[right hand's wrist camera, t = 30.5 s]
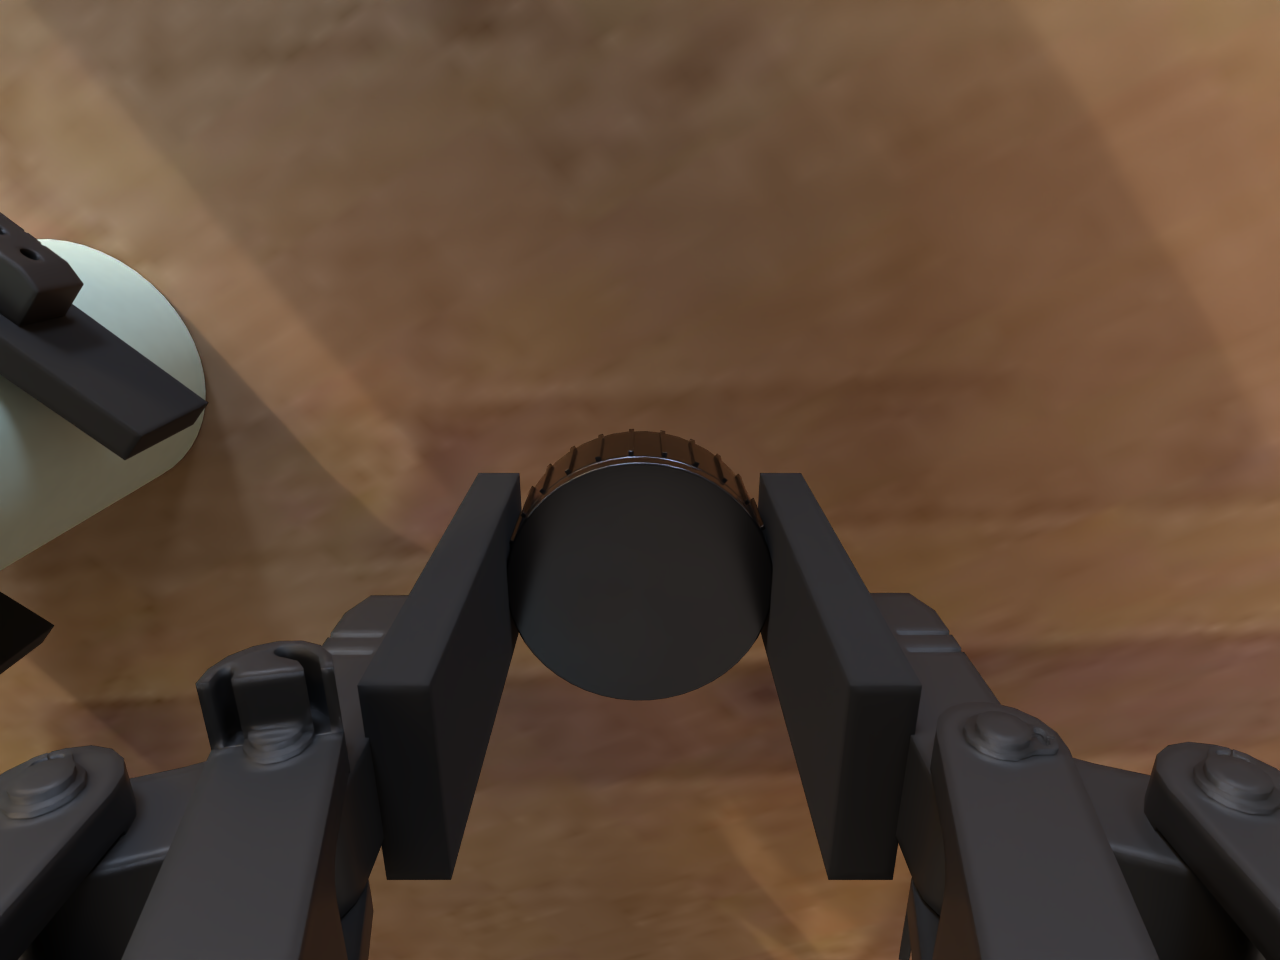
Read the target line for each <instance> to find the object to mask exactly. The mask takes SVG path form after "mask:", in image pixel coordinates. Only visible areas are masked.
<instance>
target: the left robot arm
mask: <svg viewBox="0 0 1280 960" xmlns="http://www.w3.org/2000/svg"><path fill="white" fill-rule="evenodd" d="M83 285H84V284H83V282H82V281H81V280H80V278H79V277H78V276H77V274H76V273H75V271H74V270H73V269H72V267H71V266H70V265H69V263H68V262H67V261H65V260H64V259H63V258H61V257H60V256H59V255H57V254H56V253H55V252H53V251H52V250H50V249H49V248H48V247H46V246H44V245H42V244H41V242H40V241H38V240H37V239H36V238H34V237H33V236H32V235H30V234H29V233H26V232H24V230H23V229H22V228H21V227H19V226H18V225H17V224H15V223H14V222H13V221H11V220H10V219H9V218H7V217H6V216H5V215H3V214H2V213H0V375H1V376H3V377H4V378H6V379H7V380H9V381H10V382H12V383H13V384H14V385H16V386H17V387H19V388H20V389H22V390H23V391H25V392H26V393H27V394H29V395H30V396H32V397H33V398H35V399H36V400H38V401H39V402H41V403H42V404H43V405H45V406H46V407H48V408H49V409H51V410H52V411H54V412H55V413H57V414H58V415H59V416H61V417H62V418H64V419H65V420H67V421H68V422H70V423H71V424H73V425H74V426H75V427H77V428H78V429H80V430H81V431H83V432H84V433H86V434H87V435H88V436H90V437H91V438H93V439H94V440H96V441H97V442H99V443H100V444H102V445H103V446H104V447H106V448H107V449H109V450H110V451H112V452H113V453H115V454H116V455H118V456H119V457H120V458H122V459H123V460H127V459H129V458H131V457H133V456H135V455H136V454H138V453H140V452H142V451H144V450H146V449H148V448H150V447H152V446H154V445H155V444H157V443H159V442H161V441H163V440H165V439H167V438H169V437H171V436H173V435H175V434H176V433H178V432H180V431H182V430H184V429H186V428H188V427H190V426H192V425H193V424H194V423H195V422H196V420H197V419H198V417H199V416H200V414H201V413H202V411H203V410H204V409H205V407H206V406H207V404H208V402H207V401H205V400H204V399H203V398H201V397H200V396H198V395H197V394H196V393H194V392H193V391H192V390H190V389H189V388H187V387H186V386H185V385H183V384H182V383H181V382H179V381H178V380H176V379H175V378H174V377H172V376H171V375H170V374H168V373H167V372H165V371H164V370H163V369H161V368H160V367H159V366H157V365H156V364H154V363H153V362H152V361H150V360H149V359H148V358H146V357H145V356H143V355H142V354H141V353H139V352H138V351H137V350H135V349H134V348H132V347H131V346H130V345H128V344H127V343H126V342H124V341H123V340H121V339H120V338H119V337H117V336H116V335H115V334H113V333H112V332H110V331H109V330H108V329H106V328H105V327H104V326H102V325H101V324H99V323H98V322H97V321H95V320H94V319H93V318H91V317H90V316H88V315H87V314H86V313H84V312H83V311H82V310H80V309H79V308H77V307H76V306H75V305H73V304H72V303H73V301H74V300H75V298H76V296H77V295H78V293H79V291H80V290H81V288H82V286H83ZM53 626H54V625H53V624H51V623H50V622H48V621H47V620H45V619H43V618H42V617H40V616H39V615H37V614H35V613H34V612H32V611H30V610H29V609H27V608H26V607H24V606H22V605H21V604H19V603H18V602H16V601H14V600H13V599H11V598H10V597H8V596H6V595H5V594H3V593H1V592H0V674H1V673H3V672H4V671H5V670H7V669H8V668H9V667H11V666H12V665H13V664H15V663H16V662H17V661H19V660H20V659H21V658H23V657H24V656H25V655H27V654H28V653H29V652H31V651H32V650H33V649H35V648H36V647H37V646H38V645H40V644H41V643H42V642H43V641H44V639H45V638H46V637H47V635H48V634H49V632H50V631H51V629H52V628H53Z"/></svg>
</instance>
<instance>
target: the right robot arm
mask: <svg viewBox="0 0 1280 960" xmlns="http://www.w3.org/2000/svg"><path fill="white" fill-rule="evenodd" d="M758 510H759V513H760V516H761V518H762V521H763V524H764V526H765V530H762V531H763V534H764V537H765V540H766V542H767V545H768V548H769V552H770V556H771V560H772V565H773V574H772V590H771V604H770V610H769V613H768V616H767V619H766V622H765V624H764V626H763V628H762V630H761V635H762V639H763V642H764V646H765V650H766V653H767V657H768V661H769V664H770V668H771V671H772V675H773V679H774V682H775V686H776V690H777V693H778V697H779V701H780V704H781V708H782V712H783V715H784V719H785V723H786V726H787V730H788V734H789V737H790V741H791V745H792V748H793V752H794V755H795V759H796V763H797V766H798V770H799V774H800V777H801V781H802V785H803V788H804V792H805V796H806V799H807V803H808V807H809V810H810V814H811V818H812V821H813V825H814V829H815V832H816V836H817V839H818V843H819V847H820V850H821V854H822V858H823V861H824V865H825V869H826V872H827V876H828V880H893V874H894V867H895V861H896V854H897V848H898V843H899V845H900V848H901V850H902V853H903V855H904V858H905V860H906V863H907V865H908V868H909V871H910V873H911V876H912V879H911V886H910V892H909V898H908V904H907V910H906V916H905V922H904V928H903V934H902V940H901V947H900V954H899V960H909V958H910V953H911V954H912V960H1280V771H1279V770H1277V769H1276V768H1274V767H1272V766H1270V765H1268V764H1266V763H1264V762H1261V761H1259V760H1257V759H1255V758H1253V757H1251V756H1250V755H1248V754H1245V753H1242V752H1239V751H1237V750H1234V749H1233V750H1231V749H1229V748H1226V747H1222V746H1217V745H1212V744H1202V743H1193V742H1186V743H1180V744H1174V745H1168V746H1167V747H1166V748H1164V749H1163V750H1162V751H1161V752H1160V753H1158V754H1157V756H1156V759H1155V763H1154V766H1153V770H1152V773H1151V776H1150V775H1146V774H1141V773H1136V772H1132V771H1127V770H1122V769H1117V768H1113V767H1108V766H1103V765H1098V764H1094V763H1090V762H1086V761H1083V760H1079V759H1076V758H1072V755H1071V753H1070V751H1069V749H1068V747H1067V746H1066V745H1065V743H1064V742H1063V740H1062V739H1061V738H1060V736H1059V735H1058V733H1057V732H1055V731H1054V730H1052V729H1051V728H1050V727H1048V726H1047V725H1046V724H1044V723H1043V722H1042V721H1040V720H1039V719H1037V718H1035V717H1033V716H1031V715H1029V714H1026V713H1024V712H1022V711H1020V710H1017V709H1015V708H1012V707H1007V706H1003V705H1001V704H1000V702H999V701H998V700H997V698H996V697H995V695H994V694H993V693H992V691H991V690H990V688H989V687H988V685H987V684H986V683H985V681H984V680H983V678H982V677H981V676H980V674H979V673H978V671H977V670H976V668H975V667H974V666H973V664H972V663H971V661H970V660H969V658H968V657H967V656H966V654H965V653H964V652H961V647H960V646H959V644H958V643H957V641H956V640H955V639H954V637H953V636H952V635H949V630H948V629H947V627H946V626H945V624H944V623H943V622H942V620H941V619H940V617H939V616H938V614H937V613H936V612H935V610H933V609H932V608H930V607H929V606H927V605H926V604H924V603H923V602H921V601H920V600H918V599H917V598H915V597H914V596H912V595H911V594H909V593H869V591H868V590H867V588H866V586H865V584H864V583H863V581H862V579H861V577H860V576H859V574H858V572H857V570H856V569H855V567H854V565H853V563H852V562H851V560H850V558H849V556H848V555H847V553H846V551H845V549H844V548H843V546H842V544H841V542H840V541H839V539H838V537H837V535H836V534H835V532H834V530H833V528H832V527H831V525H830V523H829V521H828V520H827V518H826V516H825V514H824V513H823V511H822V509H821V507H820V506H819V504H818V502H817V500H816V499H815V497H814V495H813V493H812V492H811V490H810V488H809V486H808V485H807V483H806V481H805V479H804V478H803V476H802V474H801V473H760V484H759V501H758ZM520 512H522V510H521V493H520V476H519V473H478V475H477V477H476V479H475V480H474V482H473V484H472V486H471V487H470V489H469V491H468V493H467V494H466V496H465V498H464V500H463V501H462V503H461V505H460V507H459V508H458V510H457V512H456V513H455V515H454V517H453V519H452V520H451V522H450V524H449V526H448V527H447V529H446V531H445V533H444V534H443V536H442V538H441V540H440V541H439V543H438V545H437V547H436V548H435V550H434V552H433V554H432V555H431V557H430V559H429V561H428V562H427V564H426V566H425V568H424V569H423V571H422V573H421V575H420V576H419V578H418V580H417V582H416V583H415V585H414V587H413V589H412V590H411V592H410V594H409V595H371V596H370V597H368V598H367V599H365V600H364V601H362V602H361V603H359V604H358V605H356V606H355V607H353V608H352V609H350V610H349V611H347V612H346V613H345V614H344V615H343V617H342V618H341V620H340V621H339V622H338V624H337V625H336V627H335V628H334V630H333V631H332V632H331V637H330V638H327V640H326V641H325V642H324V644H323V645H322V646H321V645H317V644H313V643H309V642H305V641H277V642H272V643H267V644H262V645H257V646H253V647H250V648H248V649H245V650H242V651H240V652H237V653H235V654H232V655H230V656H228V657H226V658H224V659H223V660H221V661H220V662H218V663H217V664H215V665H214V666H212V667H210V668H209V669H208V670H207V671H206V672H205V673H204V674H203V676H202V677H201V678H200V679H199V680H198V681H197V683H196V688H197V692H198V696H199V700H200V705H201V709H202V713H203V717H204V721H205V725H206V730H207V734H208V738H209V742H210V746H211V752H210V754H209V757H208V759H207V761H205V762H202V763H198V764H194V765H191V766H187V767H183V768H178V769H173V770H169V771H164V772H159V773H155V774H150V775H145V776H141V777H136V778H131V779H129V775H128V772H127V769H126V765H125V762H124V758H122V757H121V756H120V755H119V754H118V753H117V752H115V751H114V750H113V749H110V748H104V747H98V746H92V745H91V746H82V747H73V748H65V749H61V750H57V751H52V752H51V753H46V754H43V755H40V756H37V757H34V758H32V759H30V760H29V761H26V762H24V763H22V764H20V765H18V766H16V767H14V768H12V769H10V770H8V771H6V772H4V773H3V774H1V775H0V960H368V956H369V946H370V937H371V928H372V919H373V905H372V898H371V892H370V886H369V880H368V878H369V876H370V873H371V871H372V868H373V866H374V863H375V860H376V858H377V855H378V853H379V850H380V848H381V845H382V851H383V858H384V864H385V871H386V877H387V880H451V878H452V874H453V870H454V867H455V863H456V859H457V856H458V852H459V849H460V845H461V841H462V838H463V834H464V830H465V827H466V823H467V819H468V816H469V812H470V808H471V805H472V801H473V797H474V794H475V790H476V786H477V783H478V779H479V776H480V772H481V768H482V765H483V761H484V757H485V754H486V750H487V746H488V743H489V739H490V735H491V732H492V728H493V724H494V721H495V717H496V713H497V710H498V706H499V703H500V699H501V695H502V692H503V688H504V684H505V681H506V677H507V673H508V670H509V666H510V662H511V659H512V655H513V651H514V648H515V644H516V640H517V637H518V633H519V632H518V630H517V628H516V626H515V623H514V621H513V618H512V616H511V613H510V608H509V598H508V583H507V562H508V557H509V552H510V549H511V546H512V544H509V542H510V539H511V536H512V533H513V531H514V528H515V525H516V523H517V520H518V517H519V515H520Z"/></svg>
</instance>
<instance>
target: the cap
mask: <svg viewBox="0 0 1280 960" xmlns="http://www.w3.org/2000/svg"><path fill="white" fill-rule="evenodd" d="M762 530H765V526H764V524H763V521H762V518H761V516H760V513H759V510H758V507H757V505H756V502H755V500H754V498H752V499H750V497H749V495H748V493H747V491H746V489H745V487H744V484H743V481H742V478H741V476H740V475H739V474H738V475H735V474H734V473H733V471H732V470H731V469H730V468H729V467H728V466H727V465H726V464H725V463H724V462H722V460H721V456H720V455H718V454H716V455H713V454H712V453H711V452H709V451H708V450H706V449H704V448H702V447H701V446H699V445H697V444H695V440H692V439H690V441H688V440H685V439H682V438H680V437H677V436H672V435H668V434H665V431H660V433H657V432H648V431H634V429H629V432H622V433H615V434H611V435H607V436H604V435H603V434H601V435H599V436H598V438H596V439H594V440H592V441H589V442H587V443H584V444H582V445H580V446H579V447H577V448H576V447H575V446H573V447H571V449H570V452H568V453H567V454H566V455H564V456H563V457H562V458H561V459H559V460H558V461H557V462H556V463H555V464H554V465H552V464H549V465H548V466H547V469H546V472H545V474H544V475H543V477H542V478H541V479H540V481H539V482H538V483H537V485H536V486H535V487H533V486H532V487H531V489H530V491H529V494H528V496H527V499H526V502H525V504H524V507H523V510H522V512H520V515H519V517H518V520H517V523H516V525H515V528H514V531H513V533H512V536H511V539H510V542H509V544H512V546H511V549H510V552H509V557H508V562H507V583H508V598H509V608H510V613H511V616H512V618H513V621H514V623H515V626H516V628H517V630H518V632H519V633H520V635H521V637H522V639H523V640H524V642H525V643H526V645H527V646H528V647H529V649H530V650H531V651H532V653H533V654H534V655H535V656H536V657H537V658H538V659H539V660H540V661H541V662H542V663H543V664H544V665H545V666H546V667H547V668H549V669H550V670H551V671H553V672H554V673H555V674H556V675H558V676H559V677H561V678H563V679H564V680H566V681H568V682H569V683H571V684H573V685H575V686H577V687H579V688H582V689H584V690H586V691H589V692H592V693H595V694H598V695H601V696H606V697H611V698H616V699H624V700H655V699H663V698H669V697H673V696H677V695H681V694H685V693H687V692H690V691H693V690H696V689H698V688H700V687H702V686H704V685H706V684H708V683H710V682H712V681H714V680H715V679H717V678H718V677H720V676H721V675H723V674H724V673H726V672H727V671H728V670H729V669H731V668H732V667H733V666H734V665H735V664H737V663H738V662H739V661H740V659H741V658H742V657H743V656H744V655H745V654H746V653H747V652H748V651H749V649H750V648H751V646H752V645H753V644H754V642H755V641H756V639H757V638H758V636H759V634H760V632H761V630H762V628H763V626H764V624H765V622H766V619H767V616H768V613H769V610H770V604H771V590H772V574H773V565H772V560H771V556H770V552H769V548H768V545H767V542H766V540H765V537H764V534H763V531H762Z"/></svg>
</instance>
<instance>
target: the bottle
mask: <svg viewBox="0 0 1280 960" xmlns="http://www.w3.org/2000/svg"><path fill="white" fill-rule="evenodd" d="M37 240H38V241H40V242H41V244H42V245H44V246H46V247H48V248H49V249H50V250H52V251H53V252H55V253H56V254H57V255H59V256H60V257H61V258H63V259H64V260H65V261H67V262H68V263H69V265H70V266H71V267H72V269H73V270H74V271H75V273H76V274H77V276H78V277H79V278H80V280H81V281H82V282H83V284H84V285H83V286H82V288H81V290H80V291H79V293H78V295H77V296H76V298H75V300H74V301H73V303H72V304H73V305H75V306H76V307H77V308H79V309H80V310H82V311H83V312H84V313H86V314H87V315H88V316H90V317H91V318H93V319H94V320H95V321H97V322H98V323H99V324H101V325H102V326H104V327H105V328H106V329H108V330H109V331H110V332H112V333H113V334H115V335H116V336H117V337H119V338H120V339H121V340H123V341H124V342H126V343H127V344H128V345H130V346H131V347H132V348H134V349H135V350H137V351H138V352H139V353H141V354H142V355H143V356H145V357H146V358H148V359H149V360H150V361H152V362H153V363H154V364H156V365H157V366H159V367H160V368H161V369H163V370H164V371H165V372H167V373H168V374H170V375H171V376H172V377H174V378H175V379H176V380H178V381H179V382H181V383H182V384H183V385H185V386H186V387H187V388H189V389H190V390H192V391H193V392H194V393H196V394H197V395H198V396H200V397H201V398H203V399H204V400H205V399H206V388H205V379H204V372H203V368H202V364H201V360H200V357H199V354H198V351H197V349H196V346H195V343H194V341H193V339H192V337H191V335H190V333H189V331H188V329H187V327H186V326H185V324H184V323H183V321H182V319H181V318H180V316H179V315H178V313H177V312H176V310H175V309H174V308H173V307H172V306H171V304H170V303H169V302H168V301H167V299H166V298H165V297H164V296H163V295H162V294H161V293H160V292H159V291H158V290H157V289H156V288H155V287H154V286H153V285H152V284H151V283H150V282H148V281H147V280H146V279H145V278H143V277H142V276H141V275H140V274H138V273H137V272H136V271H135V270H133V269H131V268H130V267H128V266H127V265H125V264H124V263H122V262H121V261H119V260H117V259H115V258H113V257H111V256H109V255H107V254H105V253H103V252H101V251H98V250H95V249H92V248H90V247H87V246H84V245H80V244H76V243H72V242H68V241H61V240H51V239H37ZM204 410H205V409H204ZM204 410H203V411H202V413H201V414H200V416H199V417H198V419H197V420H196V422H195V423H194V424H193V425H192V426H190V427H188V428H186V429H184V430H182V431H180V432H178V433H176V434H175V435H173V436H171V437H169V438H167V439H165V440H163V441H161V442H159V443H157V444H155V445H154V446H152V447H150V448H148V449H146V450H144V451H142V452H140V453H138V454H136V455H135V456H133V457H131V458H129V459H127V460H123V459H122V458H120V457H119V456H118V455H116V454H115V453H113V452H112V451H110V450H109V449H107V448H106V447H104V446H103V445H102V444H100V443H99V442H97V441H96V440H94V439H93V438H91V437H90V436H88V435H87V434H86V433H84V432H83V431H81V430H80V429H78V428H77V427H75V426H74V425H73V424H71V423H70V422H68V421H67V420H65V419H64V418H62V417H61V416H59V415H58V414H57V413H55V412H54V411H52V410H51V409H49V408H48V407H46V406H45V405H43V404H42V403H41V402H39V401H38V400H36V399H35V398H33V397H32V396H30V395H29V394H27V393H26V392H25V391H23V390H22V389H20V388H19V387H17V386H16V385H14V384H13V383H12V382H10V381H9V380H7V379H6V378H4V377H3V376H1V375H0V571H1V570H2V569H4V568H6V567H7V566H9V565H11V564H12V563H14V562H16V561H18V560H19V559H21V558H23V557H24V556H26V555H28V554H29V553H31V552H33V551H34V550H36V549H38V548H39V547H41V546H43V545H44V544H46V543H48V542H49V541H51V540H53V539H55V538H56V537H58V536H60V535H61V534H63V533H65V532H66V531H68V530H70V529H71V528H73V527H75V526H76V525H78V524H80V523H81V522H83V521H85V520H87V519H88V518H90V517H92V516H93V515H95V514H97V513H98V512H100V511H102V510H103V509H105V508H107V507H108V506H110V505H112V504H113V503H115V502H117V501H118V500H120V499H122V498H124V497H125V496H127V495H129V494H130V493H132V492H134V491H135V490H137V489H139V488H140V487H142V486H144V485H145V484H147V483H149V482H150V481H152V480H154V479H155V478H157V477H159V476H161V475H162V474H164V473H165V472H167V471H168V470H170V469H171V468H173V467H174V466H175V465H176V464H177V463H178V462H179V461H180V460H181V459H182V458H183V457H184V456H185V454H186V453H187V452H188V451H189V449H190V448H191V446H192V445H193V443H194V441H195V439H196V437H197V435H198V433H199V430H200V427H201V424H202V421H203V416H204Z"/></svg>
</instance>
